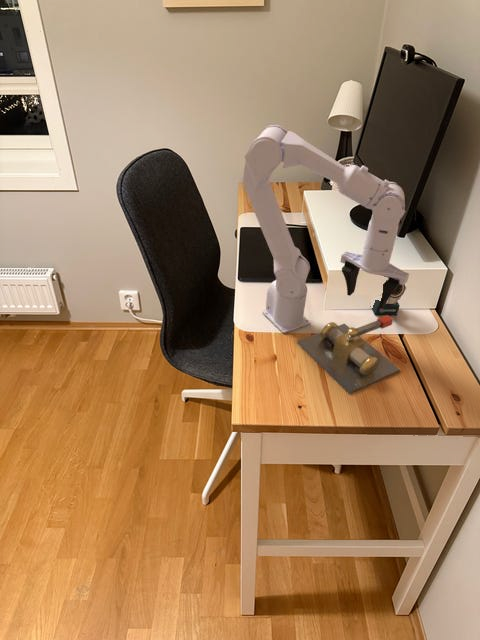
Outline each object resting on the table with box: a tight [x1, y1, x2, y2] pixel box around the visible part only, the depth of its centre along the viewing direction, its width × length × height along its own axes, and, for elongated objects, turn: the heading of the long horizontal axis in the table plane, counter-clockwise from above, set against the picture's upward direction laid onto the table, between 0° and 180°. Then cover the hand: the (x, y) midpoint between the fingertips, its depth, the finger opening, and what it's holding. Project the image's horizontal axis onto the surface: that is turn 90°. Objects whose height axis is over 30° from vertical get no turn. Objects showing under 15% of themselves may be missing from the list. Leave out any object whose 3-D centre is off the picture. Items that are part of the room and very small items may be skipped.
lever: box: [348, 315, 394, 342], centre depth 98 cm, size 12×2×2 cm, turn 120°
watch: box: [371, 278, 407, 317], centre depth 111 cm, size 6×8×11 cm
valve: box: [296, 321, 401, 395], centre depth 99 cm, size 18×14×5 cm
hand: (366, 299), depth 101 cm, fingers open, 7 cm apart
